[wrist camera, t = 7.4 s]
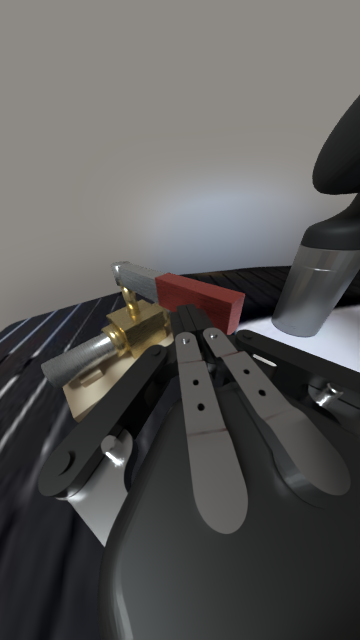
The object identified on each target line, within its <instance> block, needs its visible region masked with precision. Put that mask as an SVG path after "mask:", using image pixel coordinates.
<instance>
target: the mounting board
mask: <svg viewBox="0 0 360 640" xmlns="http://www.w3.org/2000/svg"><path fill="white" fill-rule="evenodd" d="M165 330H166V336H167V338H165V339H164V340H162V341H161V342H160V343H158V344H159V345H162V346H164V347H166V346H168V345H170V344H171V343H172V342H173V341H174V339H173V334H172V330H171V322H170V325H169V326H167V327H166V328H165ZM139 357H140V356H139ZM139 357H138V358H139ZM138 358H136V359H134V358H133V357H132V356H131V355H130V354H129V353H128V352H127V353H125V354H124V355H122V356H120V357H118V356H117V355H116V354H115V355H114V356H112V357H110V358H109V359H107V360H106V361H104V362H102V363H101V364H99V365H98V366H96V367H94V368H93V369H91V370H89V371H88V372H86V373H85V374H83V375H81V376H80V377H78V378H76V379H75V380H73V381H72V382H70V383H68V384H67V385H65V386H63V389H64V392H65V395H66V398H67V401H68V403H69V406H70V409H71V412H72V415H73V418H74V419H75V420H76V421H77V422H81V421H82V419H83V418H84V417H85V416H86V415H87V414H88V413H89V412H90V411H91V410H92V408H93V407H94V406H95V405H96V404H97V403H98V402H99V401H100V400H101V398H102V397H103V396H104V395H105V394H106V393H107V392H108V391H109V390H110V389H111V387H112V386H113V385H114V384H115V383H116V382H117V381H118V380H119V379H120V378H121V376H122V375H123V374H124V373H125V372H126V371H127V370H128V369H129V368H130V367H131V365H132V364H133V363H134V362H135V361H136V360H137V359H138Z"/></svg>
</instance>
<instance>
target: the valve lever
mask: <svg viewBox="0 0 360 640" xmlns="http://www.w3.org/2000/svg"><path fill="white" fill-rule="evenodd" d="M111 268H112V271H113V274H114V277H115V280H116V283H117V285H118V286H124V287H126V288H128V289H130V290H132V291H134V292H136V293H138V294H140V295H142V296H144V297H146V298H148V299H150V300H152V301H154V302H156V303H158V304H159V305H160V306H162V307H164V308H166V309H168V310H170V311H172V312H177V309H176V306H179V305H186V304H192V303H194V305H195V306H196V308H201V309H203V310H204V311H205V312H206V314H207V315H208V317H209V319H210V320H211V322H212V323H213V325H214V327H215V328H217V329H219V330H221V331H222V332H223V333H224V334H226V335H231V334H232V333H233V332H234V331H235V330H236V329H237V327H238V323H239V318H240V314H241V310H242V305H243V301H244V296H245V294H244V293H240V292H237V291H233V290H229V289H226V288H222V287H219V286H215V285H211V284H208V283H204V282H200V281H197V280H193V279H189V278H186V277H182V276H179V275H175V274H171V273H166V274H165V273H162V272H158V271H155V270H151V269H147V268H144V267H141V266H137V265H133V264H130V262H127V261H123V262H116V263H113V264H111Z"/></svg>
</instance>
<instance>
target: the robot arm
mask: <svg viewBox="0 0 360 640" xmlns="http://www.w3.org/2000/svg"><path fill="white" fill-rule="evenodd" d="M312 177H313V178H312V179H313V185H314V187H315V189H316V190H317V191H319V192H320V193H324V194H330V195H339V194H352V193H358V194H357V195H356V197H355V198H354V200H353V201H352V203H351V204H350V206H349V207H347V208H346V209H345V210H344V211H342V212H341V213H339V214H337V215H335V216H334V217H332V218H329V219H327V220H325V221H322V222H319V223H316V224H314V225H312V226H310V227H309V228H308V229H307V230H306V232H305V234H304V236H303V238H302V241H301V244H300V246H299V249H298V252H297V254H296V257H295V259H294V262H293V265H292V267H291V270H290V272H289V275H288V278H287V280H286V283H285V285H284V288H283V291H282V293H281V296H280V298H279V301H278V304H277V306H276V309H275V311H274V314H273V317H272V323H273V324H274V325H275V326H276V327H277V328H278V329H280V330H281V331H283V332H286V333H288V334H291V335H295V336H300V337H310V336H314V335H315V334H317V332H318V331H319V329H320V328H321V326H322V325H323V323H324V322H325V320H326V319H327V317H328V316H329V314H330V313H331V311H332V310H333V308H334V307H335V305H336V304H337V302H338V301H339V299H340V298H341V296H342V295H343V293H344V292H345V290H346V289H347V287H348V286H349V284H350V283H351V281H352V279H353V278H354V276H355V275H356V273H357V272H358V270H359V269H360V95H359V96H358V98H357V99H356V100H355V101H354V102H353V104H352V105H351V106H350V107H349V109H348V110H347V111H346V112H345V114H344V115H343V117H342V118H341V119H340V120H339V122H338V123H337V125H336V126H335V128H334V130H333V131H332V132H331V134H330V135H329V137H328V139H327V140H326V142H325V144H324V145H323V147H322V149H321V151H320V153H319V156H318V158H317V161H316V163H315V166H314V170H313V176H312ZM176 309H177V312H171V315H170V322H171V330H172V334H173V339H174V341H173V342H172V343H171V344H170V345H168V346H166V347H164V346H162V345H159V344H156V345H152V346H150V347H148V348H147V349H146V350H145V351H144V352H143V353H142V354H141V356H140V357H139V358H138V359H137V360H136V361H135V362H134V363H133V364H132V365H131V367H130V368H129V369H128V370H127V371H126V372H125V373H124V374H123V375H122V376H121V378H120V379H119V380H118V381H117V382H116V383H115V384H114V385H113V386H112V387H111V389H110V390H109V391H108V392H107V393H106V394H105V395H104V396H103V397H102V398H101V400H100V401H99V402H98V403H97V404H96V405H95V406H94V407H93V408H92V410H91V411H90V412H89V413H88V414H87V415H86V416H85V417H84V418H83V419H82V421H81V422H80V423H79V424H78V425H77V426H76V427H75V428H74V429H73V430H72V432H71V433H70V434H69V435H68V436H67V437H66V438H65V439H64V440H63V441H62V443H61V444H60V445H59V446H58V447H57V448H56V449H55V450H54V451H53V452H52V454H51V455H50V456H49V457H48V459H47V460H46V462H45V463H44V465H43V467H42V469H41V472H40V475H39V479H38V488H39V491H40V493H41V494H42V495H44V496H49V497H56V498H57V499H59V500H64V501H69V502H70V503H71V504H72V506H73V507H74V508H75V510H76V511H77V512H78V513H79V515H80V516H81V517H82V518H83V520H84V521H85V522H86V524H87V525H88V526H89V527H90V529H91V530H92V531H93V533H94V534H95V535H96V536H97V538H98V539H99V540H100V541H101V543H102V544H103V545H104V547H105V548H104V552H103V556H102V561H101V566H100V572H99V580H98V594H97V612H98V624H99V631H100V637H101V640H360V373H359V372H357V371H354V370H352V369H349V368H346V367H344V366H341V365H339V364H336V363H333V362H331V361H328V360H326V359H323V358H320V357H318V356H315V355H313V354H310V353H307V352H305V351H302V350H300V349H297V348H294V347H292V346H289V345H287V344H284V343H282V342H279V341H276V340H274V339H271V338H269V337H266V336H263V335H261V334H258V333H256V332H253V331H250V330H239V331H238V332H237V334H236V335H226V334H224V333H223V332H222V331H221V330H219V329H217V328H215V327H214V325H213V323H212V322H211V320H210V319H209V317H208V315H207V314H206V312H205V311H204V310H203V309H201V308H196V306H195V305H194V303H192V304H186V305H179V306H176ZM200 353H201V354H200ZM254 354H256V355H258V356H260V357H262V358H264V359H266V360H268V361H271V362H273V363H274V364H276V365H277V366H271V365H269V364H267V363H264V362H262V361H260V360H258V359H256V358H254V357H253V355H254ZM201 355H202V358H201ZM178 374H179V379H180V388H181V397H182V398H180V399H179V400H177V401H176V402H175V403H174V404H173V405H172V406H171V408H170V409H169V410H168V412H167V414H166V416H165V418H164V420H163V422H162V424H161V426H160V428H159V430H158V432H157V434H156V436H155V438H154V440H153V442H152V445H151V447H150V449H149V451H148V453H147V455H146V457H145V459H144V461H143V463H142V465H141V467H140V469H139V471H138V473H137V476H136V478H135V480H134V482H133V484H132V486H131V476H132V471H133V468H134V465H135V463H136V461H137V457H138V446H137V443H136V441H135V439H136V437H137V436H138V434H139V432H140V431H141V429H142V427H143V426H144V424H145V422H146V421H147V419H148V417H149V416H150V414H151V412H152V411H153V409H154V407H155V406H156V404H157V402H158V401H159V399H160V397H161V396H162V394H163V392H164V391H165V389H166V387H167V386H168V384H169V383H170V380H171V378H173V377H175V376H177V375H178ZM211 381H212V382H211ZM212 384H213V386H212Z"/></svg>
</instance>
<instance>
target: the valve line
mask: <svg viewBox="0 0 360 640" xmlns="http://www.w3.org/2000/svg"><path fill="white" fill-rule="evenodd" d="M120 287H121V290H122V293H123V297H124V300H125V303H126V306H127V307H125V308H122V309H120V310H118V311H115V312H113V313H111V314H109V315H106V316H107V318H108V321H109V323H110V325H108V326H106V327H104V328H102V329H101V331H102V334H100V335H99V336H97V337H95V338H93V339H91V340H89V341H87V342H85V343H83V344H81V345H79V346H77V347H75V348H73V349H71V350H69V351H67V352H65V353H63V354H61V355H59V356H57V357H55V358H53V359H51V360H49V361H47V362H45V363H43V364H41V368H42V370H43V373H44V374H45V376H46V378H47V379H48V381H49V382H50V383H51V384H52V385H53V386H54V387H55V388H56V389H60V388H62V387H63V386H65V385H67V384H68V383H70V382H72V381H73V380H75V379H76V378H78V377H80V376H81V375H83V374H85V373H86V372H88V371H89V370H91V369H93V368H94V367H96V366H98V365H99V364H101V363H102V362H104V361H106V360H107V359H109V358H110V357H112V356H114V355H115V354H116V355H117V356H118V357H120V356H122V355H124V354H125V353H127V352H128V353H129V354H130V355H131V356H132V357H133V358H134V359H136V358H138V357H139V356H141V354H142V353H143V352H144V351H145V350H146V349H147V348H148V347H150V346H152V345H156V344H158V343H160V342H161V341H162V340H164V339H165V338H167V336H166V330H165V328H166V327H167V326H169V325H170V315H171V312H172V311H170V310H168V309H166V308H164V307H162V306H160V305H159V304H158V303H154V304H152V305H151V304H149V303H147V302H145V301H144V300H140V301H138V302H137V299H136V295H135V292H134V291H132V290H130V289H128V288H126V287H124V286H120Z"/></svg>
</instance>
